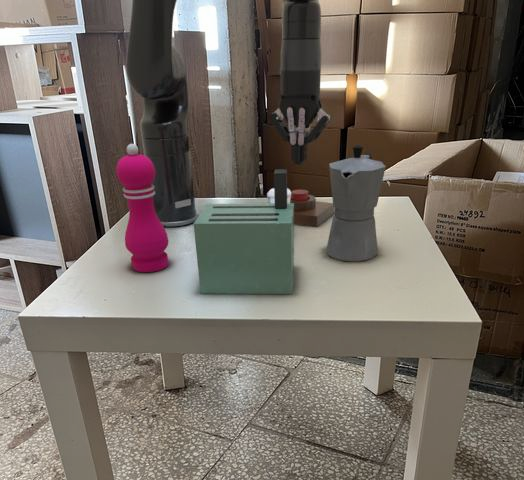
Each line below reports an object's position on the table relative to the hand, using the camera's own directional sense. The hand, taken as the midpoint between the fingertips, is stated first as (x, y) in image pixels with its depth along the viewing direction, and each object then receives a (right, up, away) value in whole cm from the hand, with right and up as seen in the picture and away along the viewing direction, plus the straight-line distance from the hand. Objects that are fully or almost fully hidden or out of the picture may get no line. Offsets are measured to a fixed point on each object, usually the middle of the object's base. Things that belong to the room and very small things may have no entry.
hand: (298, 163), depth 106 cm
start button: (0, -6, +4) cm, 7 cm away
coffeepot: (+9, -20, -13) cm, 25 cm away
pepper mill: (-27, -24, -15) cm, 39 cm away
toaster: (-10, -27, -22) cm, 36 cm away
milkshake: (-4, -16, -4) cm, 16 cm away
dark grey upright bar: (-5, -16, -26) cm, 31 cm away
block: (+1, -9, +6) cm, 11 cm away
